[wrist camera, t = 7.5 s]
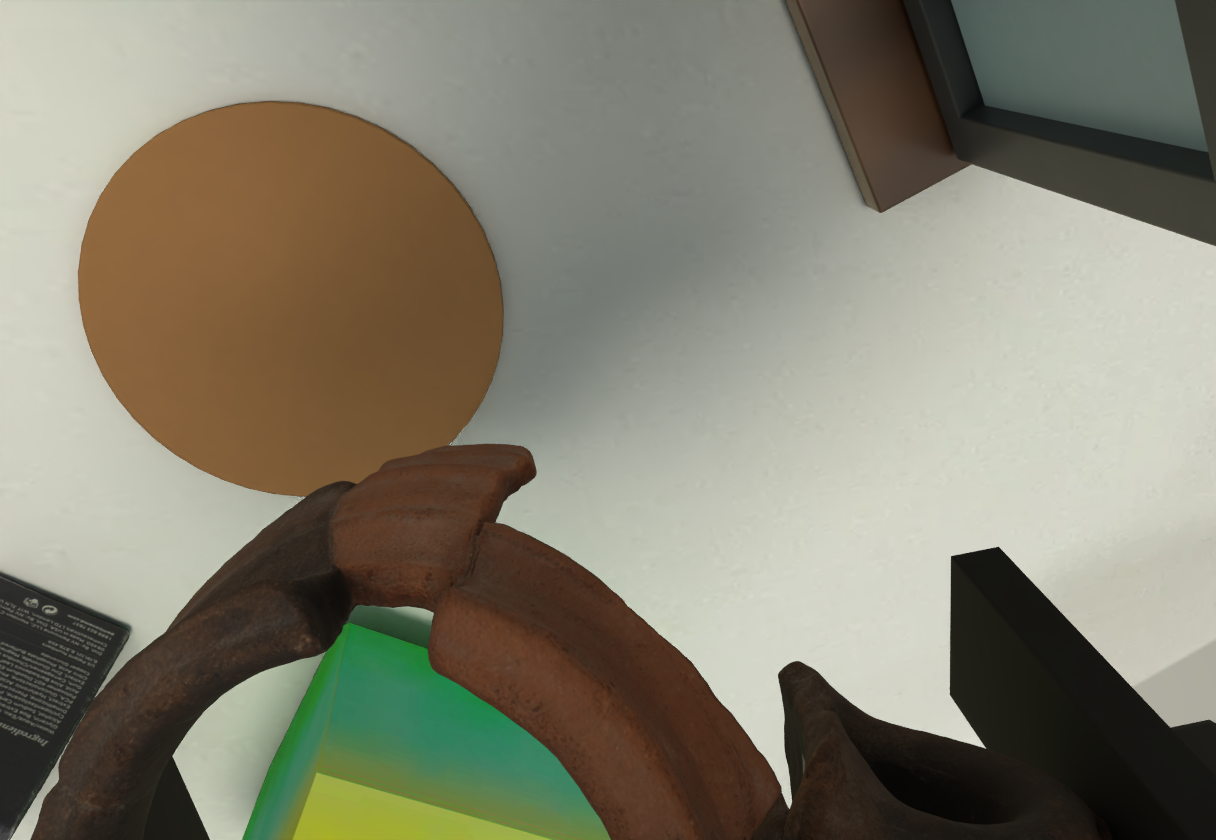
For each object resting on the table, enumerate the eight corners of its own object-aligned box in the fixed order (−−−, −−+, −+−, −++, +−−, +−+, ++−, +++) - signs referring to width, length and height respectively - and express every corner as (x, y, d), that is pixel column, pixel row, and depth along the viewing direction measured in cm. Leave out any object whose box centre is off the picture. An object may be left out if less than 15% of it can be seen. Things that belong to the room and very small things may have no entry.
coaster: (460, 69, 28) (459, 70, 28) (533, 456, 33) (533, 461, 33) (14, 137, 27) (8, 140, 27) (163, 521, 33) (159, 527, 32)
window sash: (1016, 128, 29) (1376, 215, 17) (957, 160, 29) (1274, 267, 18) (923, -168, 26) (1299, -310, 14) (857, -130, 26) (1172, -238, 14)
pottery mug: (370, 977, 17) (-11, 1456, 9) (310, 469, 18) (-112, 510, 10) (1069, 975, 15) (1368, 1630, 7) (987, 380, 15) (1183, 336, 7)
